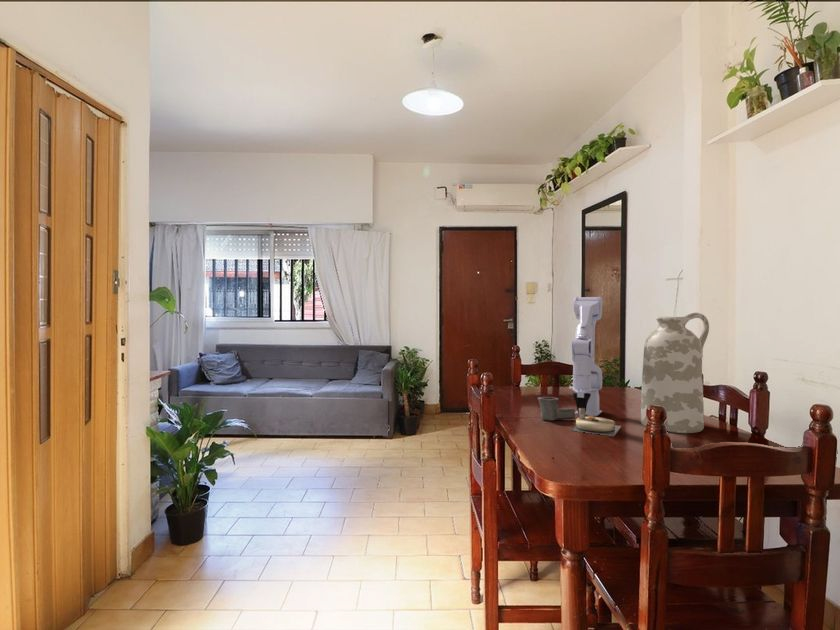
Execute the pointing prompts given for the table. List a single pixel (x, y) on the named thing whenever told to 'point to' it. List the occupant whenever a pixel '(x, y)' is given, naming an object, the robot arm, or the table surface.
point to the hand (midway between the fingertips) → (581, 414)
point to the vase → (675, 373)
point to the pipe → (554, 410)
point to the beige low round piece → (594, 422)
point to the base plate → (607, 433)
